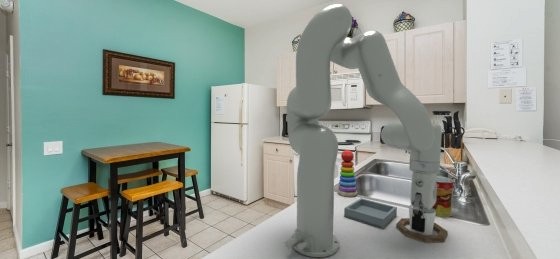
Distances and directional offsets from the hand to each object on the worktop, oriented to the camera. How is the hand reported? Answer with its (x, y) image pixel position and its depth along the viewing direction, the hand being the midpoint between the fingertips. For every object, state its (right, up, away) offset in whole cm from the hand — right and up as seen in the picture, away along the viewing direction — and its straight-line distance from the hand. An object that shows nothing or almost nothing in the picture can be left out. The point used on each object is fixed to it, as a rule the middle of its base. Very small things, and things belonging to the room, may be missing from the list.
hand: (421, 225), depth 72 cm
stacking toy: (-13, +1, +32) cm, 34 cm away
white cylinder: (0, -2, 0) cm, 2 cm away
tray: (-11, -1, +10) cm, 15 cm away
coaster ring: (0, -2, 0) cm, 2 cm away
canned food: (+14, -1, +14) cm, 19 cm away
